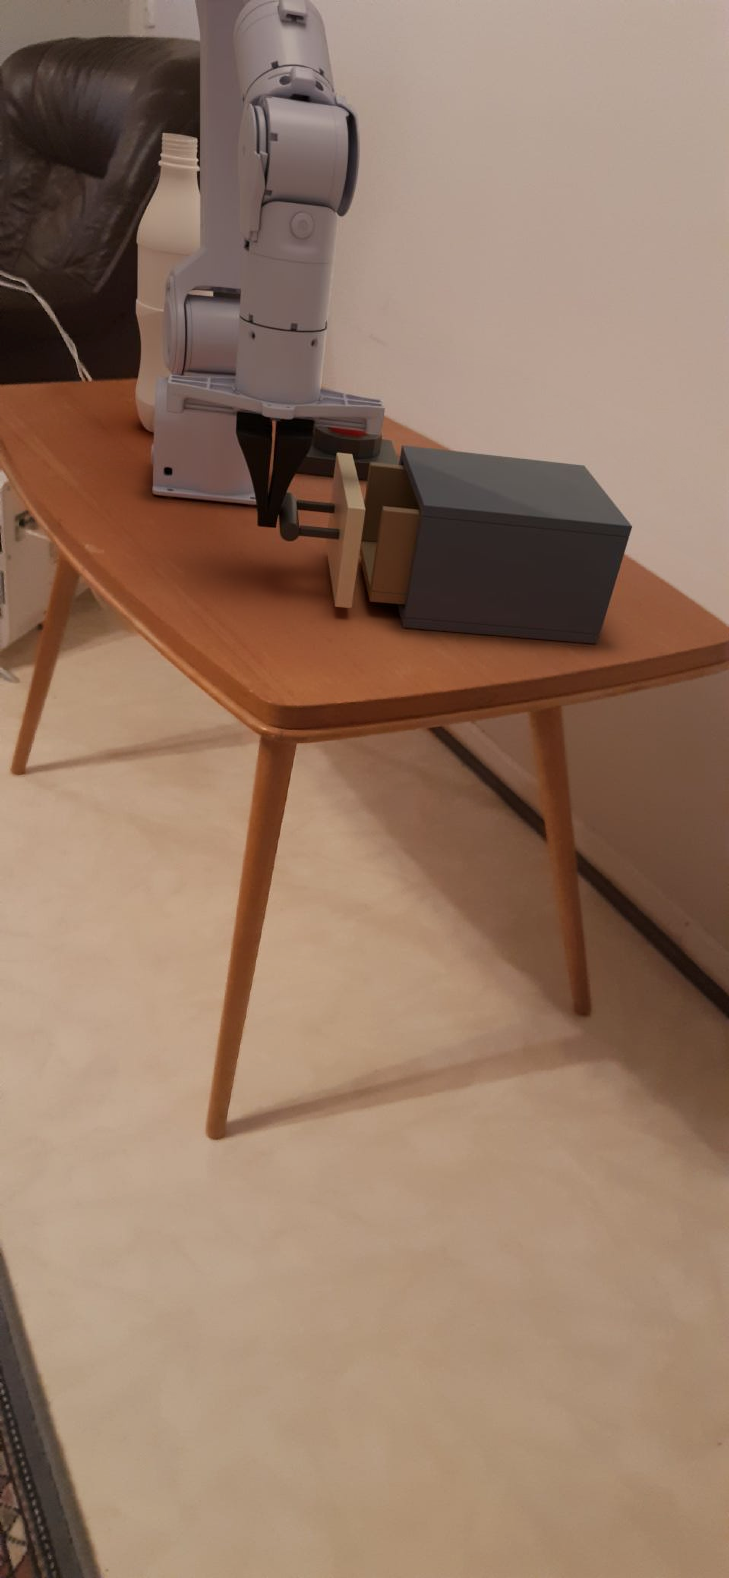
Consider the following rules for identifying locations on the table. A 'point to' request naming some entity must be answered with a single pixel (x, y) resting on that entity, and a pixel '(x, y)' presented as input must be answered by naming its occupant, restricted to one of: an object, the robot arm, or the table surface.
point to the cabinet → (510, 547)
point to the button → (348, 431)
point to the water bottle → (164, 257)
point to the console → (359, 446)
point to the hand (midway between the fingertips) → (266, 522)
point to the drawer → (363, 530)
